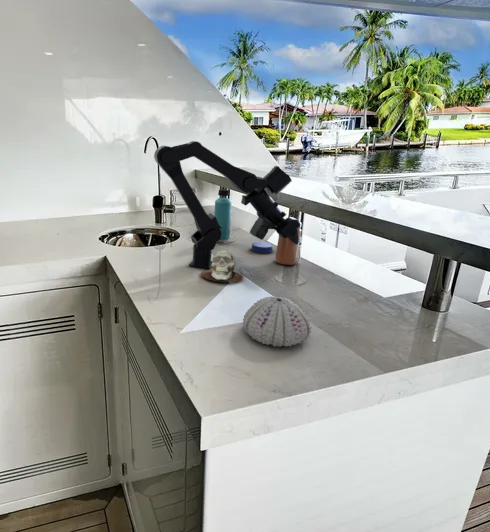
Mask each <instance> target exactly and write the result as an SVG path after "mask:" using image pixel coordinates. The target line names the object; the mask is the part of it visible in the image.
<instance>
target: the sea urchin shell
mask: <svg viewBox="0 0 490 532" xmlns="http://www.w3.org/2000/svg"><path fill="white" fill-rule="evenodd" d="M242 321H243V322H242V328H243V329H244V331H245V332H246V333H247V335H249V336H251V339H253V340H255V341H256V342H258V343H261V344H263V345H266V346H269V345H272V346H273V347H279V348H280V347H282V346H283V347H286V348H287V347H293V346H297V345H298V344H302V342H304V341H305V340H307V339H308V337H310V333H312V330H311V329H312V326H311V323H310V319H309V318H308V315H307V314H306V313H305V310H302V309H301V306H298V304H296V302H293V300H290V299H288V298H286V297H283V296H265V297H263V298H260V299H259V300H257V301H255V302H254V303H253V305H251V306H250V307H249V309H247V311H245V313H244V315H243V319H242Z"/></svg>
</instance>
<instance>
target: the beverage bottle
mask: <svg viewBox="0 0 490 532" xmlns="http://www.w3.org/2000/svg"><path fill="white" fill-rule="evenodd" d="M217 196H220V197H217V199H215V200H214V212H213V213H214V214H213V215H214V216H215V217H216V219H217V221H218V224H219V225H220V226H221V227H222V228H220V229H221V232H222V235H221V238H220V240H219V241H228V240H229V239H230V237H231V233H230V232H231V225H232V207H233V206H232V204H233V202H232V200H231V199H230V198H228V197H229V196H230V190H229V189H226V188H220V189H219V190H218V194H217Z"/></svg>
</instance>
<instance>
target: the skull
mask: <svg viewBox="0 0 490 532" xmlns="http://www.w3.org/2000/svg"><path fill="white" fill-rule="evenodd" d="M235 260H236V259H235V257H234V255H233V254H232V253H231V252H230V251H228V250H226V249H220V250H217V251H216V252H215V253H214V255H213V257H212V260H211V261H212V265H211V269H206V270H203V271H202V272H200V276H201V277H202V278H204V279H206V280H210V281H215V282H220V283H221V282H222V283H231V282H232V283H234V282H239V281H242V280H243V278H244V276H243V275H242V274H241V273H240V272H239V273H238V272H237V271H234V270H235V263H236V261H235Z"/></svg>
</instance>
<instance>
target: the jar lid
mask: <svg viewBox="0 0 490 532" xmlns="http://www.w3.org/2000/svg"><path fill="white" fill-rule="evenodd" d="M273 247H274V245H273V244H272V243H270V242H266V241H254V242H252V244H251V251H252V252H254V253H257V254H262V255H263V254H271V253H272V252H273V249H274V248H273Z"/></svg>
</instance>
